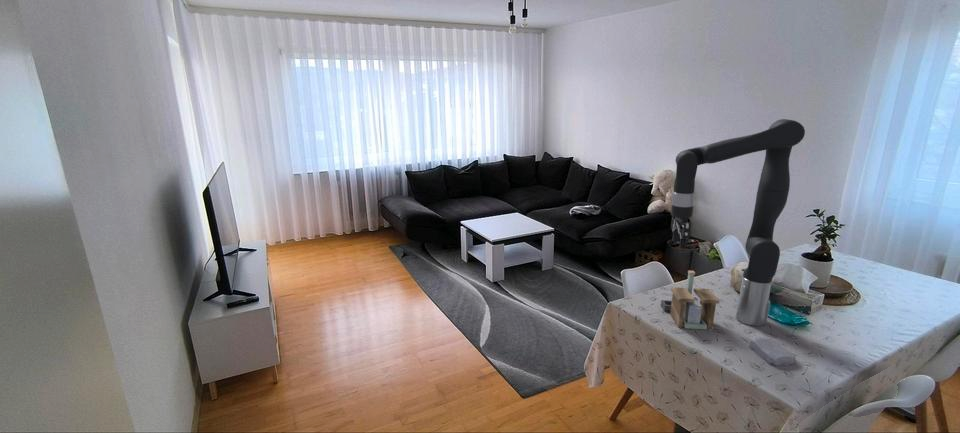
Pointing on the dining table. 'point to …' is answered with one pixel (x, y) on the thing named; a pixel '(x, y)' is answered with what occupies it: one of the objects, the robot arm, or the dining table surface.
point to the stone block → (771, 351)
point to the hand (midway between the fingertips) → (678, 244)
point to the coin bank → (738, 275)
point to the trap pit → (666, 305)
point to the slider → (689, 288)
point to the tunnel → (683, 296)
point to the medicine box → (692, 312)
